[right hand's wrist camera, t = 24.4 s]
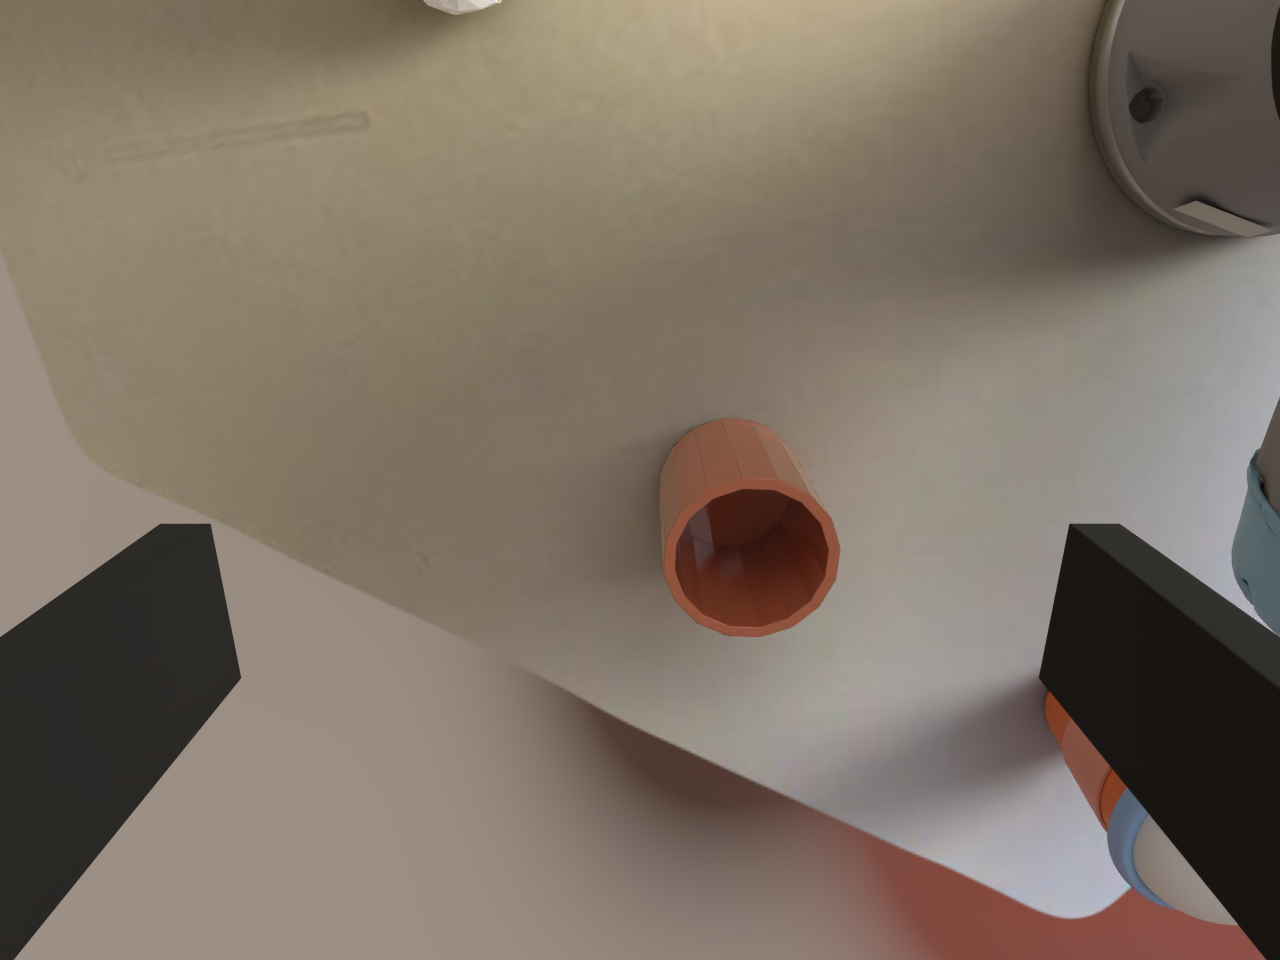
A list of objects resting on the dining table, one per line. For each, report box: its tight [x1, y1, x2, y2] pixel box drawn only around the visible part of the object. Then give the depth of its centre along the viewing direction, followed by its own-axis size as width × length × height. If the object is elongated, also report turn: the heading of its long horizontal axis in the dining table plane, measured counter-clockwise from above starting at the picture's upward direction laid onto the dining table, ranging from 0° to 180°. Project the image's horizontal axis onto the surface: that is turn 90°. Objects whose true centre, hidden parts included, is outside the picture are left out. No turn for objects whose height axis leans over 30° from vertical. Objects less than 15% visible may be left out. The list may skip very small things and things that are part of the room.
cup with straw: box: [1045, 691, 1238, 925], centre depth 38 cm, size 9×9×18 cm
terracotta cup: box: [659, 419, 840, 637], centre depth 38 cm, size 7×7×9 cm
